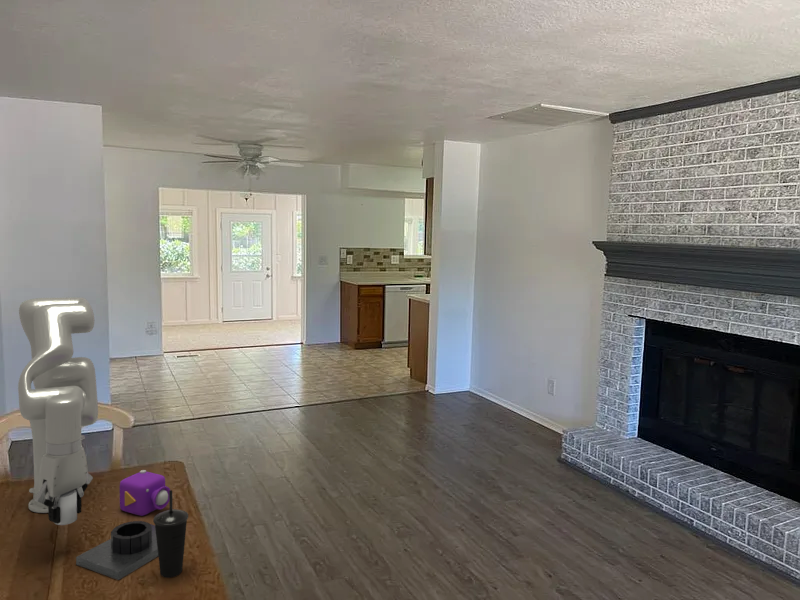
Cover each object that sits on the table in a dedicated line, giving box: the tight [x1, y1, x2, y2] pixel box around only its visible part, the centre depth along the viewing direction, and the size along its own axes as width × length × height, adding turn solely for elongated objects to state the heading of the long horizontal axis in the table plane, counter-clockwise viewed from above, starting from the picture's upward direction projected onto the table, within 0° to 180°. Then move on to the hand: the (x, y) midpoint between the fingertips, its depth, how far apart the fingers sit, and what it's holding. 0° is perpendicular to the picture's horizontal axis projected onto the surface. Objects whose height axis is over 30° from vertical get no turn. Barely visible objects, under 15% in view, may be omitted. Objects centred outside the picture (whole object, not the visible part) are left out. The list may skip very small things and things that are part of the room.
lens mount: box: [75, 520, 159, 581], centre depth 149 cm, size 14×20×6 cm
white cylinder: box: [53, 489, 78, 526], centre depth 147 cm, size 5×5×7 cm
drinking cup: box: [152, 489, 189, 579], centre depth 140 cm, size 8×8×20 cm
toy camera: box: [119, 469, 171, 517], centre depth 172 cm, size 11×14×10 cm
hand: (65, 516), depth 147 cm, fingers closed on white cylinder, 4 cm apart
